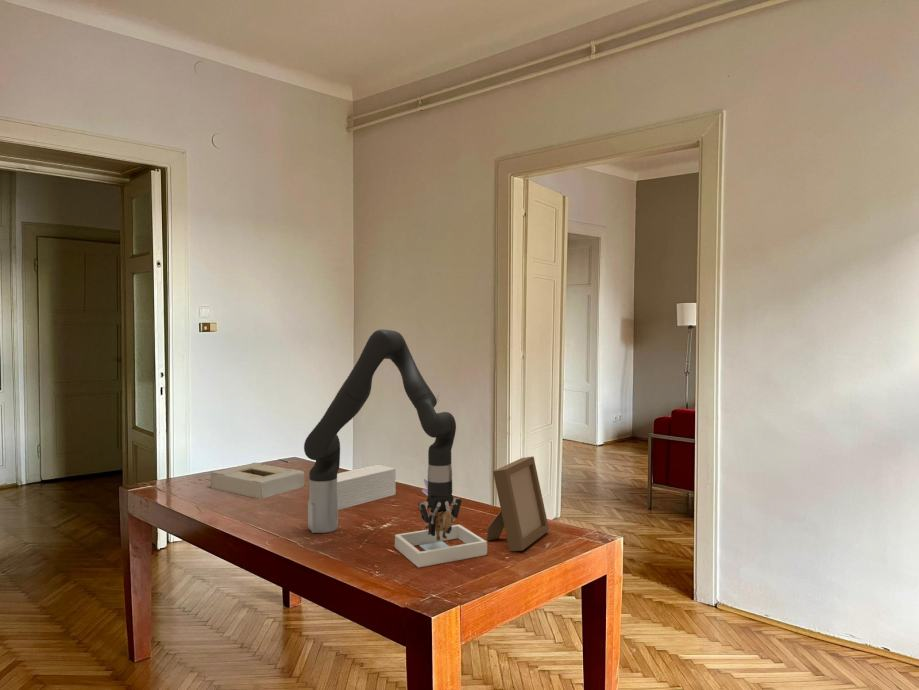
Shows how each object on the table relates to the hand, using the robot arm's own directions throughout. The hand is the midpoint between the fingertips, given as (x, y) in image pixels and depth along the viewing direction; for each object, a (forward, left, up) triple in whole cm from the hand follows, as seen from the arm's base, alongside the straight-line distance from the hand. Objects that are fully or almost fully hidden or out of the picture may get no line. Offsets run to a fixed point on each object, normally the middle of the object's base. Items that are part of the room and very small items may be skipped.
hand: (440, 533), depth 203 cm
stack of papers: (-5, +66, -6) cm, 67 cm away
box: (-36, +104, -6) cm, 110 cm away
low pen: (0, 0, -5) cm, 5 cm away
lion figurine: (0, +1, -1) cm, 2 cm away
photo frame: (+26, -1, -6) cm, 27 cm away
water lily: (+19, +45, -6) cm, 50 cm away
